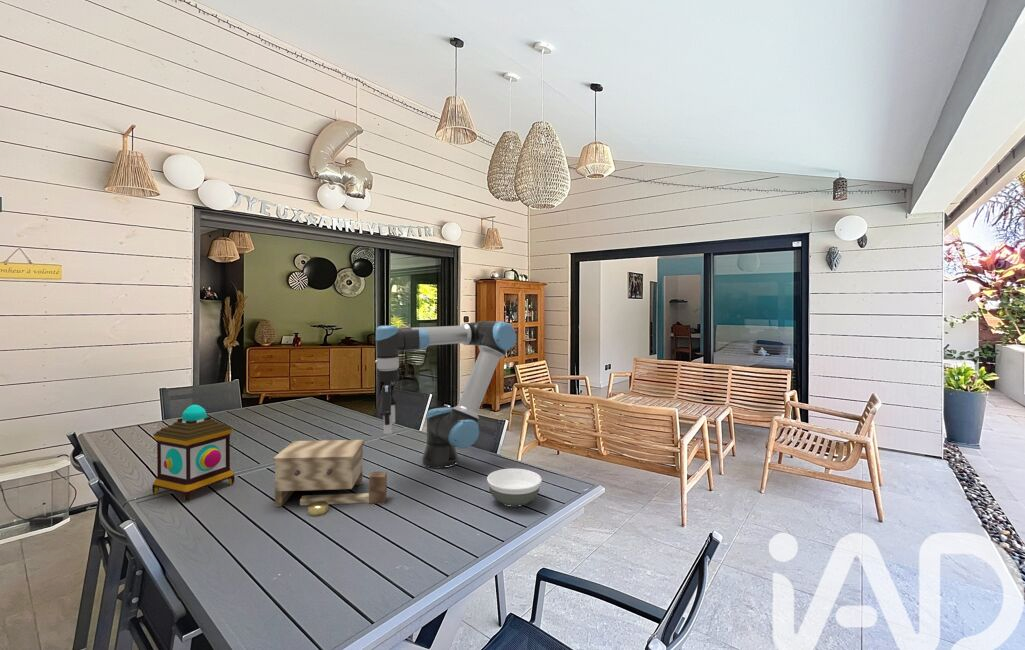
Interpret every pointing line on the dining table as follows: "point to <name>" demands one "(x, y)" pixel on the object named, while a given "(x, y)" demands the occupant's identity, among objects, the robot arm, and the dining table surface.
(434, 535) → the dining table surface
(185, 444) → the decorative lantern
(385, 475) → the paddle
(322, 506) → the puck
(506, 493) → the bowl
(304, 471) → the cabinet
